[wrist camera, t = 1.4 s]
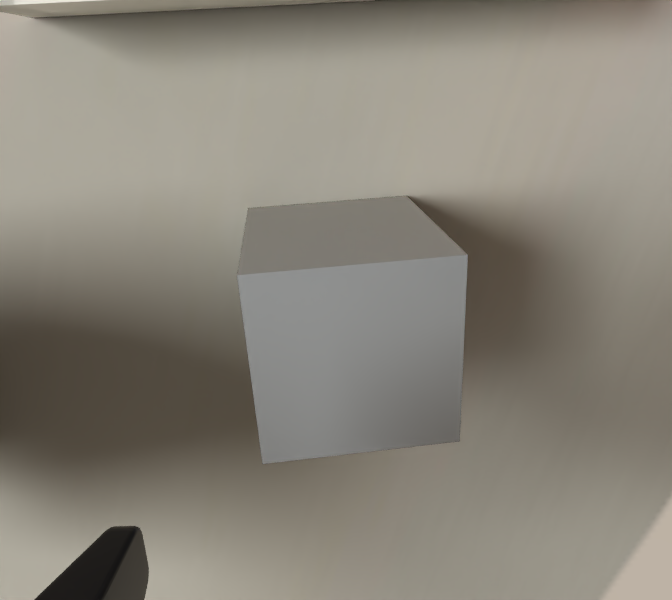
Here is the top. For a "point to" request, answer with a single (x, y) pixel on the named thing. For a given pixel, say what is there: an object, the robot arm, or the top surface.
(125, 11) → the tray
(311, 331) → the gray block
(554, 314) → the top surface
